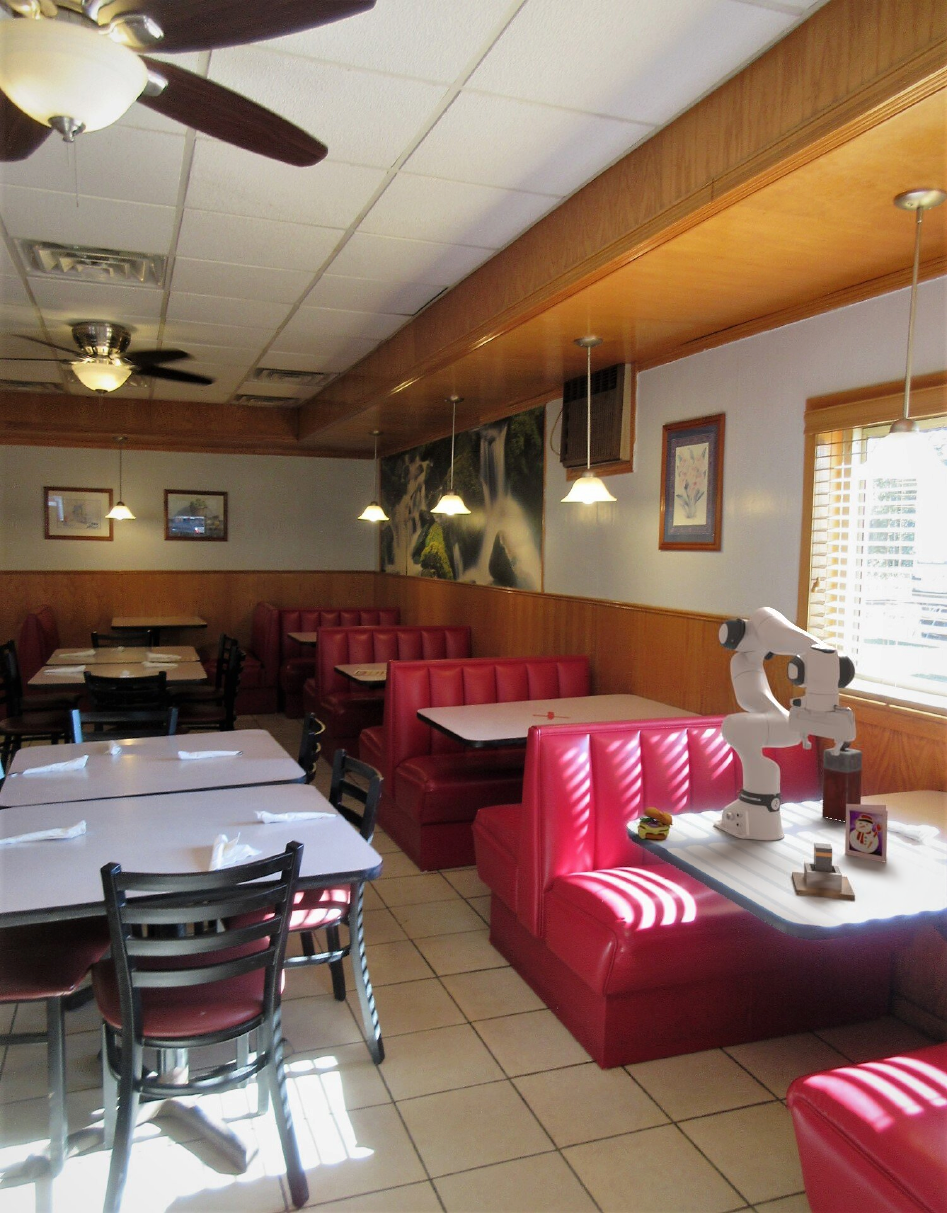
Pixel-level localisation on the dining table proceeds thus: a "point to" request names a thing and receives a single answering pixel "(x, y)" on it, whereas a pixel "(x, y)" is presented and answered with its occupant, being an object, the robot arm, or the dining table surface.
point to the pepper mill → (841, 781)
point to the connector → (822, 857)
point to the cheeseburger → (654, 824)
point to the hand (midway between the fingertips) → (820, 751)
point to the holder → (822, 883)
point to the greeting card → (866, 831)
